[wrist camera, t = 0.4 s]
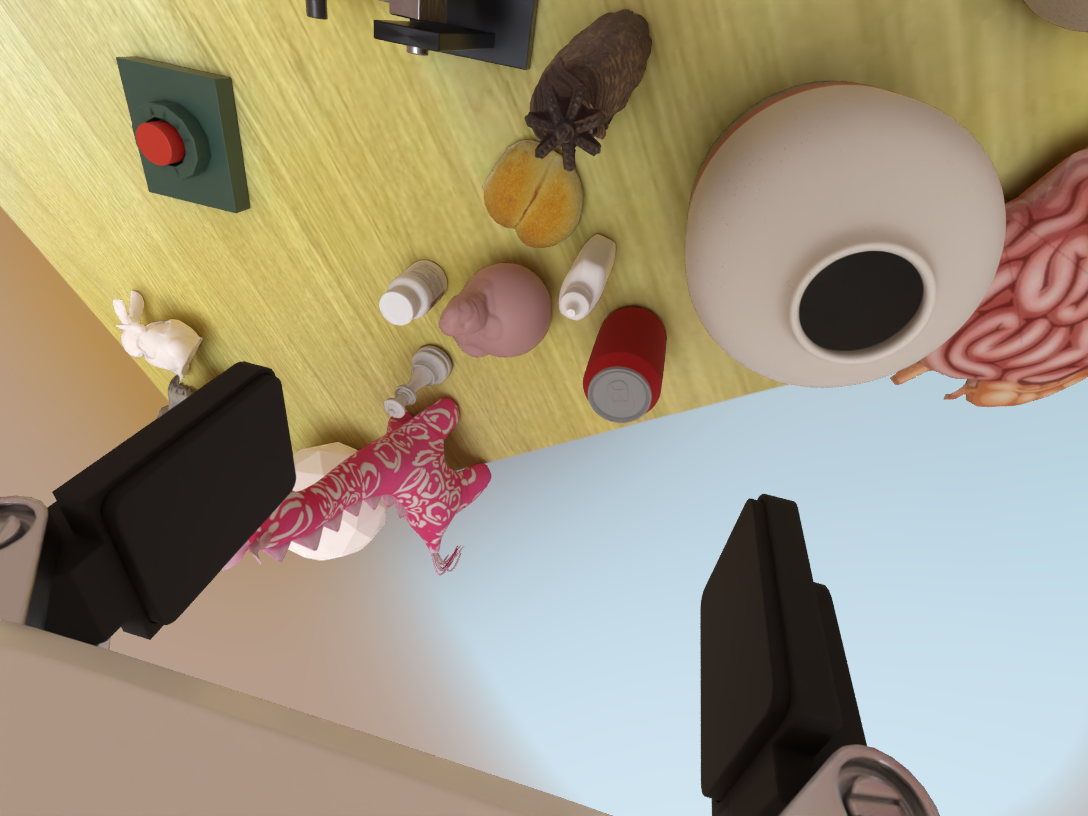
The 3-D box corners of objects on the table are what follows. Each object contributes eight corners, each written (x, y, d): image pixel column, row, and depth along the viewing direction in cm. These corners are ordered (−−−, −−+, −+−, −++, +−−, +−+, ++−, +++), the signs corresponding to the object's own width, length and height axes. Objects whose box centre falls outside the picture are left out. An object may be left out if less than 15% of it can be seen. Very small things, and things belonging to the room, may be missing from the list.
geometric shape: (410, 464, 80) (322, 508, 82) (343, 401, 69) (244, 453, 71) (417, 549, 70) (317, 596, 72) (340, 490, 59) (224, 548, 61)
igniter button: (146, 116, 52) (130, 119, 50) (181, 125, 51) (166, 127, 50) (155, 158, 54) (141, 161, 52) (189, 165, 54) (175, 169, 52)
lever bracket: (415, 45, 47) (333, 48, 36) (417, -63, 43) (326, -94, 32) (529, 69, 46) (479, 79, 35) (543, -39, 42) (490, -64, 31)
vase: (681, 288, 53) (669, 434, 33) (698, 81, 43) (697, 117, 24) (879, 295, 49) (994, 463, 30) (944, 69, 40) (1173, 102, 20)
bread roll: (552, 258, 54) (543, 272, 51) (477, 198, 53) (462, 209, 49) (605, 187, 49) (599, 198, 46) (524, 119, 48) (511, 126, 45)
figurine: (444, 291, 59) (393, 342, 49) (524, 232, 53) (485, 276, 44) (496, 356, 62) (458, 416, 52) (577, 306, 56) (552, 363, 46)
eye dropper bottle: (631, 264, 53) (616, 316, 43) (584, 296, 55) (560, 351, 46) (605, 226, 51) (582, 271, 41) (558, 260, 54) (526, 309, 44)
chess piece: (437, 383, 66) (394, 437, 58) (410, 356, 64) (362, 407, 57) (459, 366, 63) (417, 421, 55) (431, 338, 62) (384, 389, 54)
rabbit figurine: (182, 382, 74) (98, 346, 69) (211, 332, 76) (132, 294, 71) (178, 373, 63) (80, 331, 59) (212, 316, 65) (119, 271, 61)
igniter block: (135, 56, 53) (98, 57, 49) (231, 77, 52) (199, 80, 48) (165, 187, 60) (134, 196, 56) (250, 208, 59) (224, 218, 55)
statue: (633, 140, 47) (583, 221, 27) (546, 123, 48) (433, 188, 27) (661, 15, 42) (624, -2, 22) (563, -2, 43) (439, -34, 22)
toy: (421, 329, 62) (233, 506, 38) (511, 505, 73) (410, 732, 48) (362, 348, 66) (154, 521, 41) (457, 513, 76) (336, 730, 52)
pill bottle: (420, 303, 60) (388, 335, 54) (401, 265, 58) (365, 293, 52) (455, 293, 58) (425, 324, 52) (437, 254, 57) (404, 281, 50)
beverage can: (604, 365, 59) (585, 430, 49) (596, 305, 56) (573, 363, 46) (669, 362, 57) (662, 429, 47) (665, 300, 54) (657, 359, 44)
